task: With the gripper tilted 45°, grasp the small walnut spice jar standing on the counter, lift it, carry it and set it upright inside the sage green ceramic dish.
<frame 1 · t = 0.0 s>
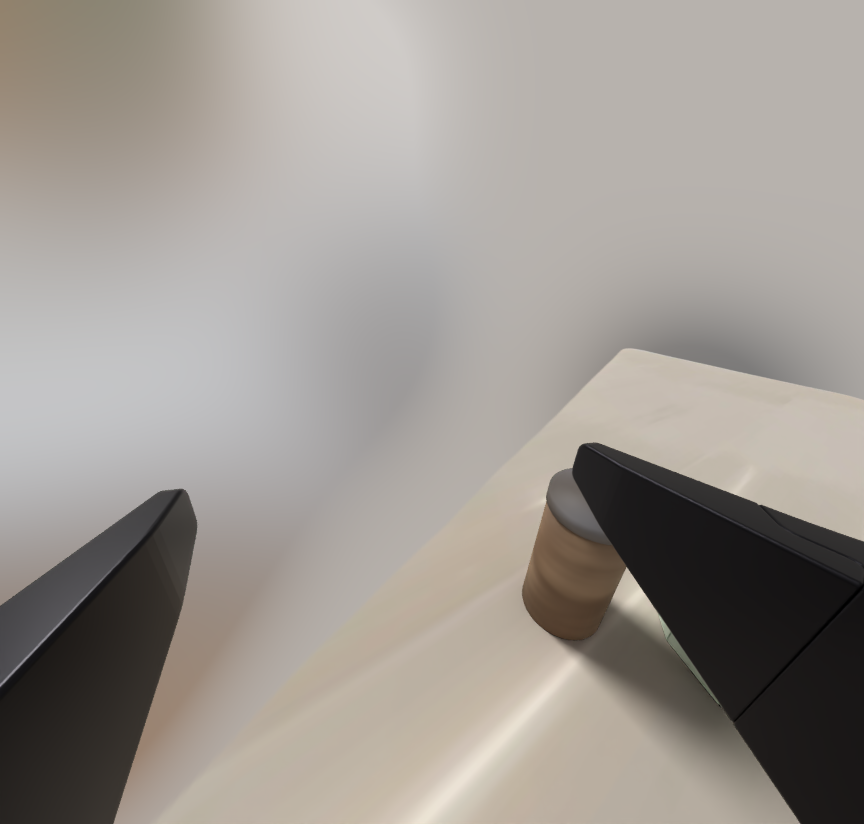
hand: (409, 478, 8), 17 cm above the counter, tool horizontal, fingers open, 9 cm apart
walnut spice jar: (560, 601, 24), on the counter
sage green dish: (772, 643, 22), on the counter
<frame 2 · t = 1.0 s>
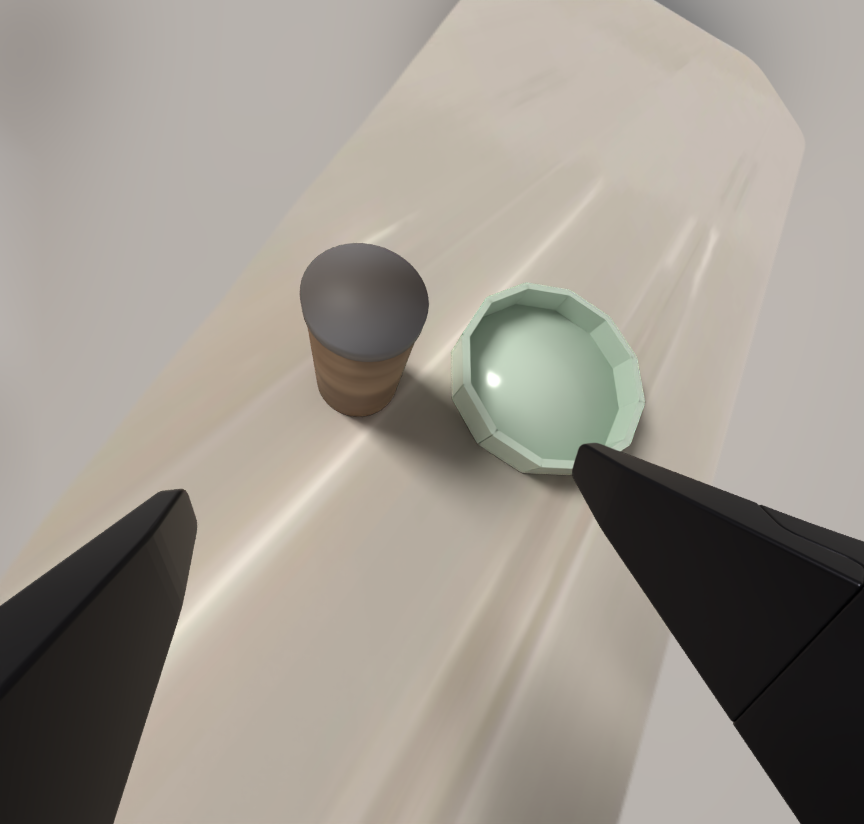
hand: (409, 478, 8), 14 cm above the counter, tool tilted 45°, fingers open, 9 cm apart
walnut spice jar: (358, 379, 23), on the counter
sage green dish: (538, 383, 26), on the counter
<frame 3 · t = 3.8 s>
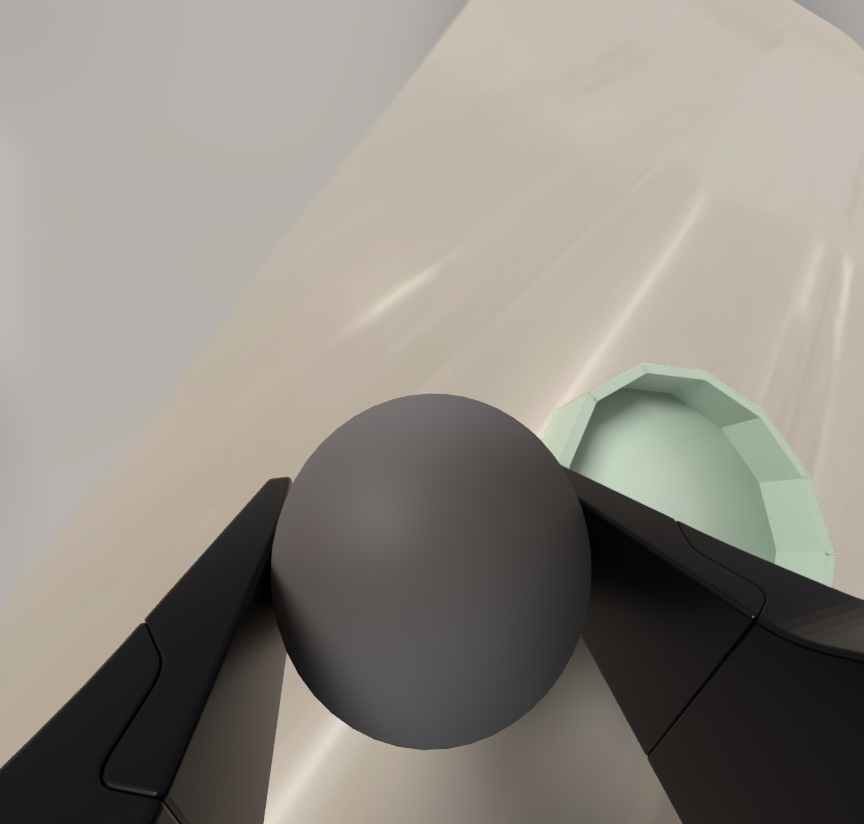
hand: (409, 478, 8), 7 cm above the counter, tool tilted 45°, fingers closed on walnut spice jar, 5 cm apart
walnut spice jar: (385, 534, 14), on the counter, touching gripper
sage green dish: (655, 514, 17), on the counter
when the fingers open (8 cm above the counter, at t = 8.6 s): walnut spice jar drops 1 cm, resting on sage green dish.
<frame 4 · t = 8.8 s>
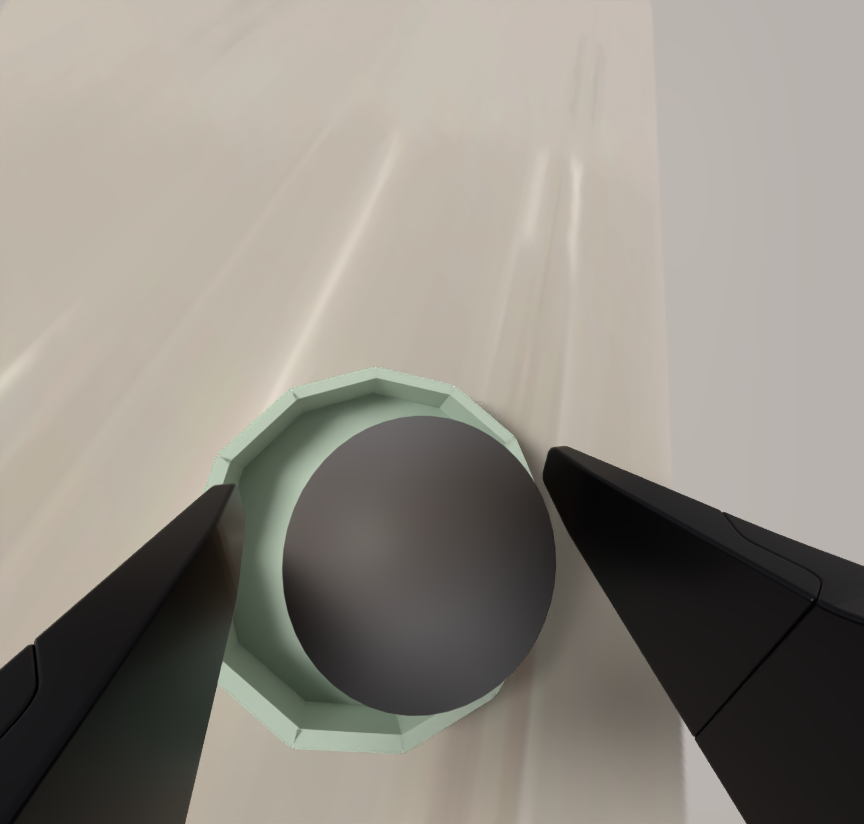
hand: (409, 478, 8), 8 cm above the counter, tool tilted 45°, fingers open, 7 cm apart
walnut spice jar: (382, 533, 15), point 1 cm above the counter, touching sage green dish
sage green dish: (380, 532, 16), on the counter
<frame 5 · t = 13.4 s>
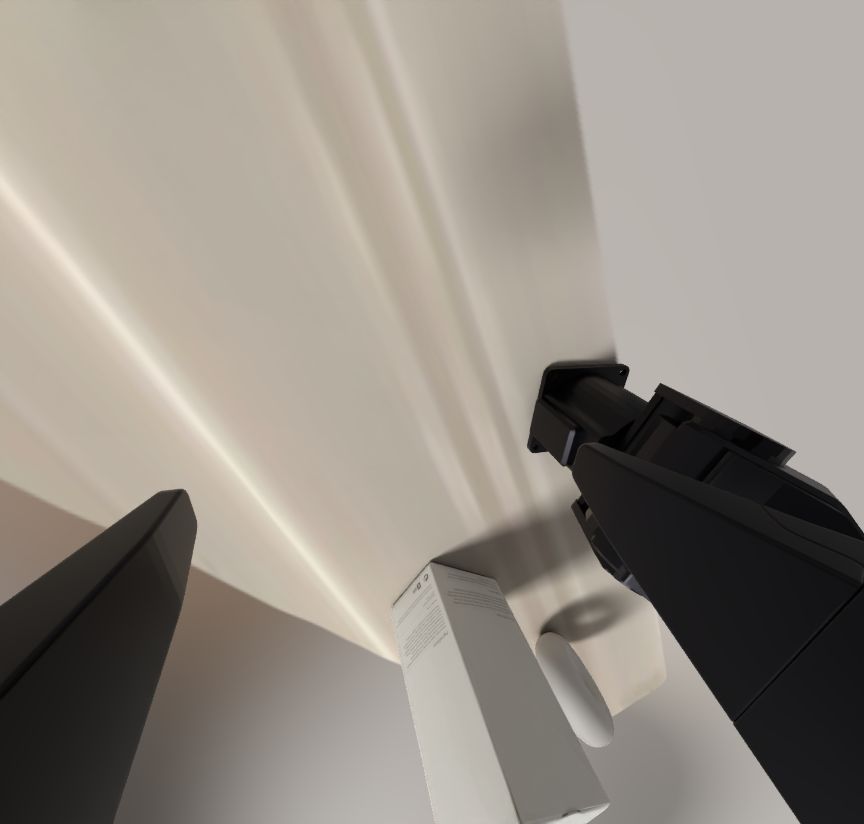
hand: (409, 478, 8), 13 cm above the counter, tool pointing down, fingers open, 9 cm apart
skincare box: (446, 589, 33), on the counter
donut: (545, 634, 42), on the counter
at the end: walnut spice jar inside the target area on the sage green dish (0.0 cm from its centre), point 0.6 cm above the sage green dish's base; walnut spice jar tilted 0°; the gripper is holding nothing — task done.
